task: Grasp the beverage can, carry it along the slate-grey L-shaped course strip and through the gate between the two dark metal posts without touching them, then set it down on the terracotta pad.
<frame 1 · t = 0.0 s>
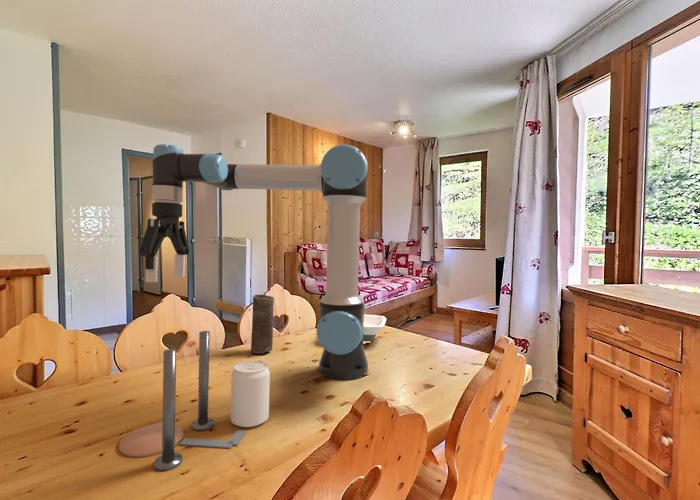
hand: (166, 279, 100), 28 cm above the table, fingers open, 13 cm apart
beverage can: (249, 420, 80), on the table
candle: (261, 352, 127), on the table
bowl: (357, 340, 146), on the table
pad: (152, 440, 71), on the table
course strip: (232, 445, 70), on the table
gate posts: (187, 442, 70), on the table
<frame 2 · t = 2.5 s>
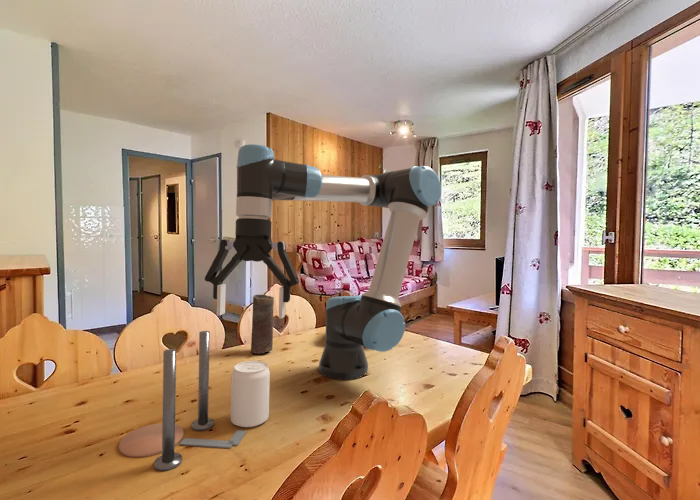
hand: (251, 315, 79), 23 cm above the table, fingers open, 13 cm apart
nothing on the table moved.
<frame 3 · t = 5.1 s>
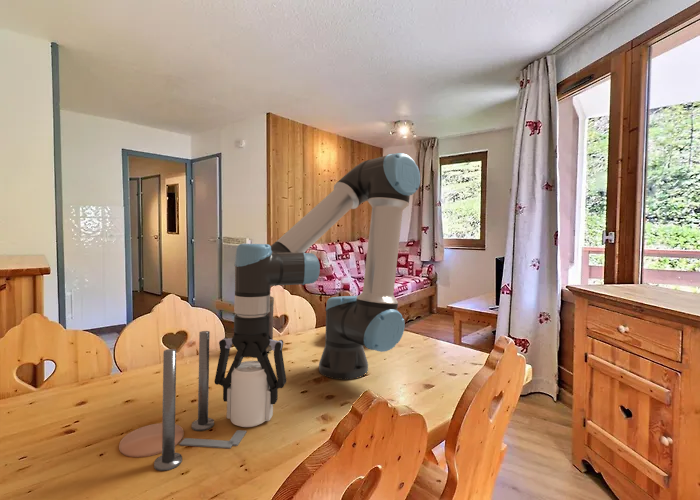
hand: (250, 416, 80), 1 cm above the table, fingers closed on beverage can, 8 cm apart
beverage can: (249, 420, 80), on the table, touching gripper
everything else where it was.
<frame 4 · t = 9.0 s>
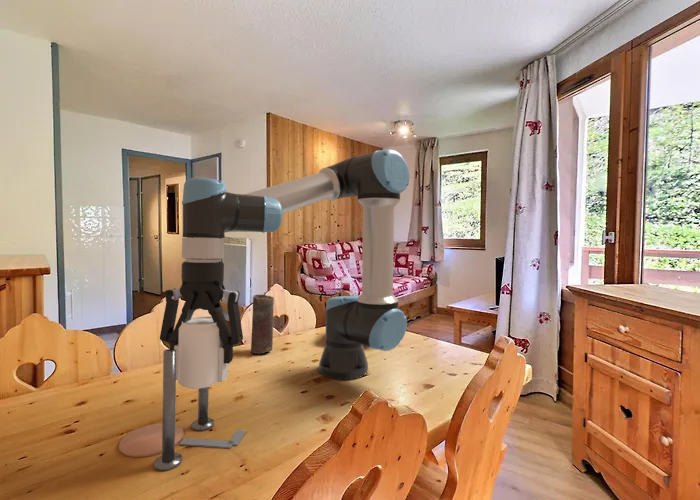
hand: (201, 378, 70), 13 cm above the table, fingers closed on beverage can, 8 cm apart
beverage can: (200, 383, 70), point 12 cm above the table, touching gripper
everything else where it was.
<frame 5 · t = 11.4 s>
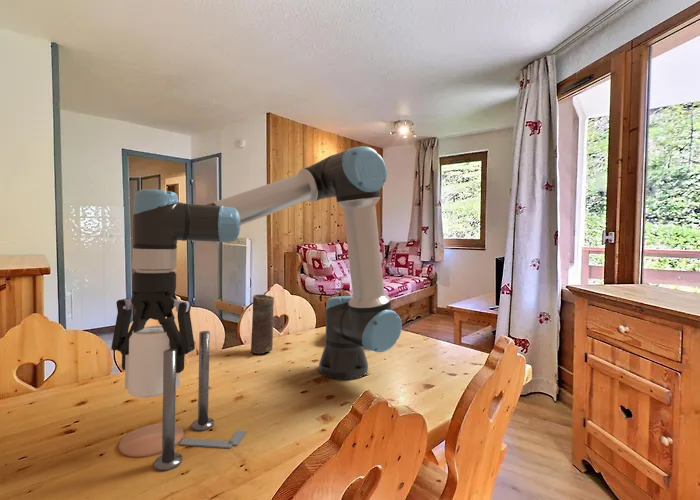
hand: (152, 387, 70), 11 cm above the table, fingers closed on beverage can, 8 cm apart
beverage can: (152, 392, 70), point 10 cm above the table, touching gripper
everything else where it was.
when the fingers open (3 cm above the table, at t = 13.1 s): beverage can drops 1 cm, resting on pad.
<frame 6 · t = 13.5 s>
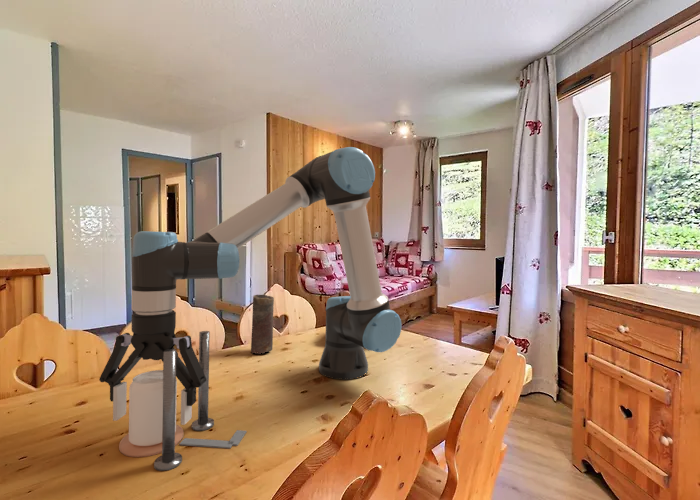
hand: (152, 419, 70), 4 cm above the table, fingers open, 13 cm apart
beverage can: (152, 438, 71), resting on pad
everything else where it was.
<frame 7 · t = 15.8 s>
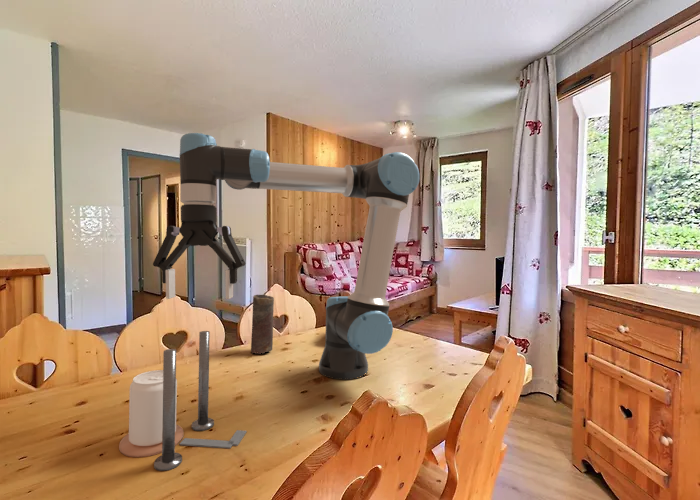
hand: (200, 298, 82), 26 cm above the table, fingers open, 13 cm apart
nothing on the table moved.
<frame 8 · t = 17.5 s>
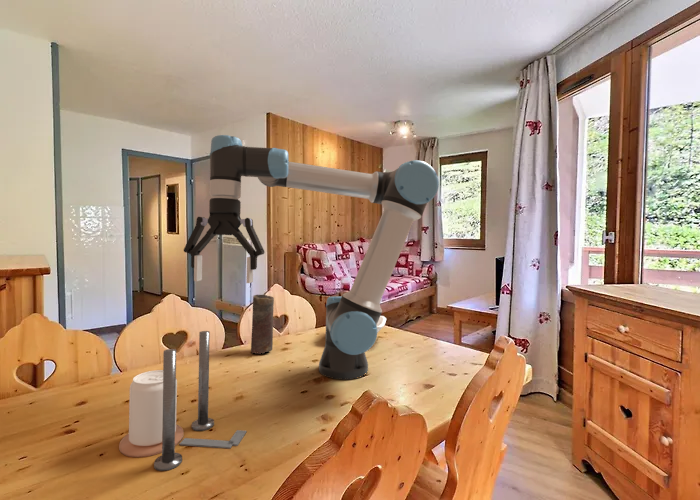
hand: (223, 281, 93), 29 cm above the table, fingers open, 13 cm apart
nothing on the table moved.
at the end: beverage can 0.1 cm from the pad (horizontally); beverage can tilted 0°; beverage can touching pad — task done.
